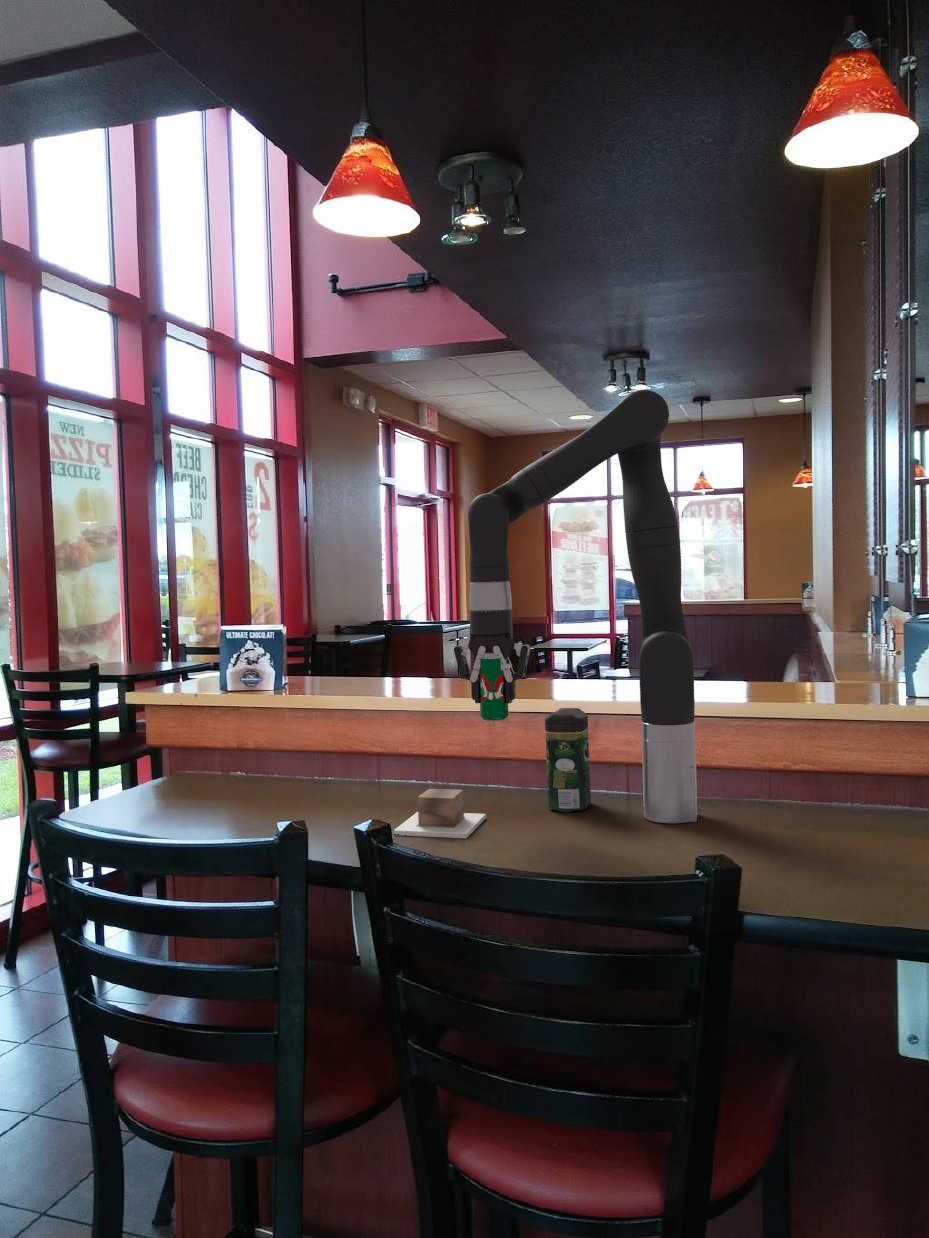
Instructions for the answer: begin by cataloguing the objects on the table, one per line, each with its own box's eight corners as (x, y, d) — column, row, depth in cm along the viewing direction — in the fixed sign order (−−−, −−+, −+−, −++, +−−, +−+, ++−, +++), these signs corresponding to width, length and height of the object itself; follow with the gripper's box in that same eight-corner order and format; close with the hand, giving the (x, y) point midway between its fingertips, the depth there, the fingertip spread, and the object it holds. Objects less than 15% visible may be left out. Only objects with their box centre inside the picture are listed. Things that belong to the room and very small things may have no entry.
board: (485, 818, 167) (485, 813, 167) (466, 838, 155) (466, 833, 155) (418, 815, 171) (417, 810, 171) (393, 834, 158) (393, 829, 158)
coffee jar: (553, 799, 179) (550, 705, 179) (594, 801, 177) (591, 705, 176) (542, 812, 170) (539, 712, 169) (585, 814, 168) (582, 713, 167)
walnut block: (464, 817, 165) (463, 789, 165) (453, 827, 159) (452, 798, 158) (430, 815, 167) (429, 788, 166) (418, 825, 160) (417, 797, 160)
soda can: (509, 716, 166) (507, 650, 165) (507, 721, 161) (505, 652, 160) (481, 717, 167) (479, 651, 166) (479, 721, 162) (477, 653, 161)
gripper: (534, 605, 164) (537, 700, 165) (457, 607, 168) (460, 699, 169) (525, 607, 157) (528, 706, 158) (445, 609, 161) (449, 705, 162)
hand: (493, 702), depth 164 cm, fingers closed on soda can, 5 cm apart
